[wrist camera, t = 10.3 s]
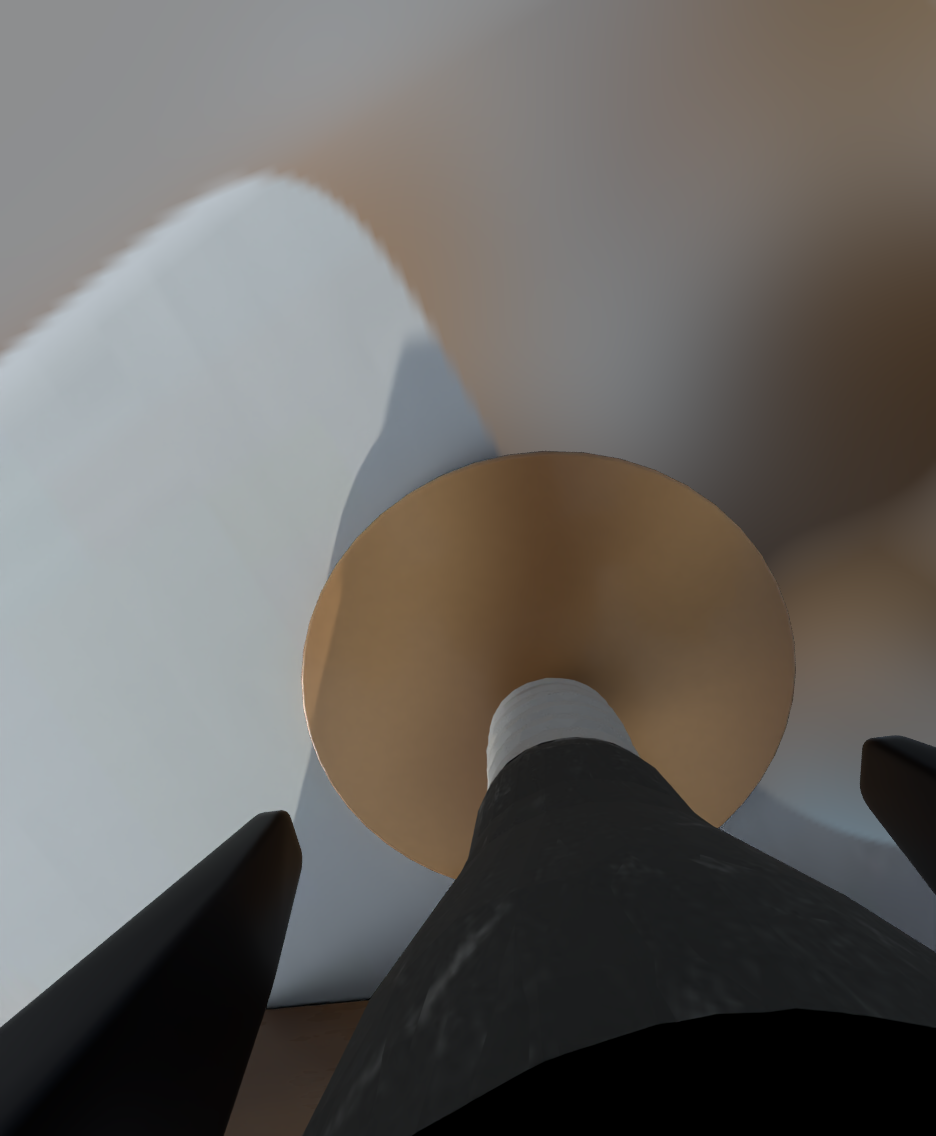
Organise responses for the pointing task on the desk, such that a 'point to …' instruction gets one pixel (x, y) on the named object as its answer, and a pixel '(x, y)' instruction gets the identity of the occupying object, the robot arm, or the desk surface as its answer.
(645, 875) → the light bulb
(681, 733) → the coaster
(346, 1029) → the wooden cubby shelf
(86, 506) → the desk surface
